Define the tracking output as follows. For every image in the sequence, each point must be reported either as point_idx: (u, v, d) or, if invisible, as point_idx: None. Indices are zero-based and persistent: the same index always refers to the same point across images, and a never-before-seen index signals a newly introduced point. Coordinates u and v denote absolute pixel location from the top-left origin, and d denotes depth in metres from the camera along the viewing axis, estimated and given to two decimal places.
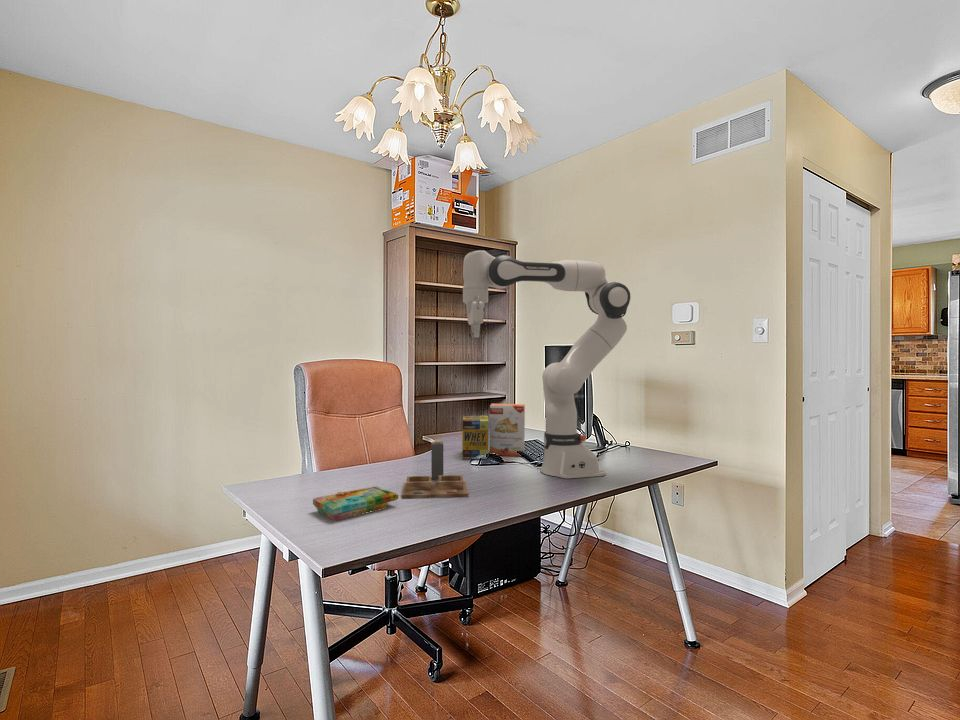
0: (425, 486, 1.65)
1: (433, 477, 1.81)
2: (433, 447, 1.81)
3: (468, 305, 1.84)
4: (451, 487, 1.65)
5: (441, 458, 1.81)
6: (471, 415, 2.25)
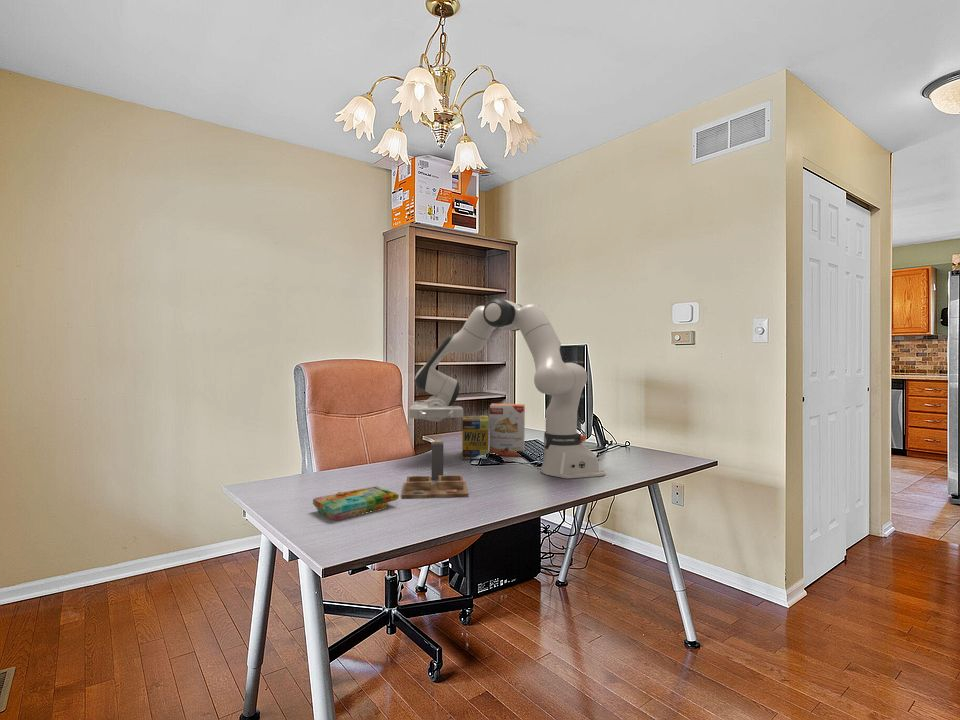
0: (425, 486, 1.65)
1: (433, 477, 1.81)
2: (433, 447, 1.81)
3: (440, 404, 2.05)
4: (451, 487, 1.65)
5: (441, 458, 1.81)
6: (471, 415, 2.25)
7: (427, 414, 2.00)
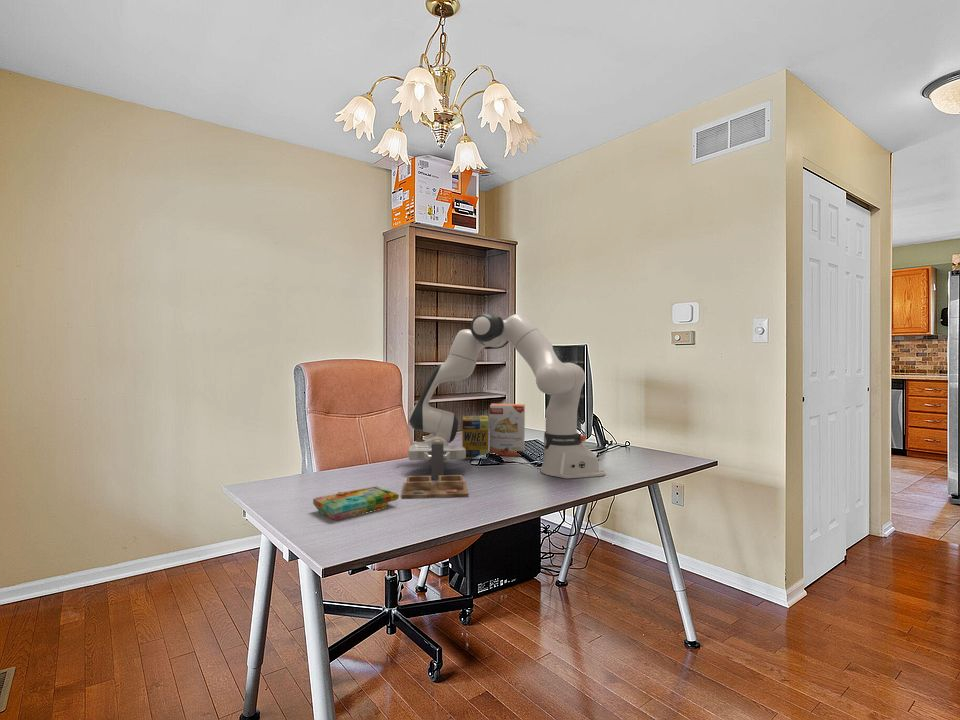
0: (425, 486, 1.65)
1: (433, 477, 1.81)
2: (433, 447, 1.81)
3: None
4: (451, 487, 1.65)
5: (441, 458, 1.81)
6: (471, 415, 2.25)
7: None
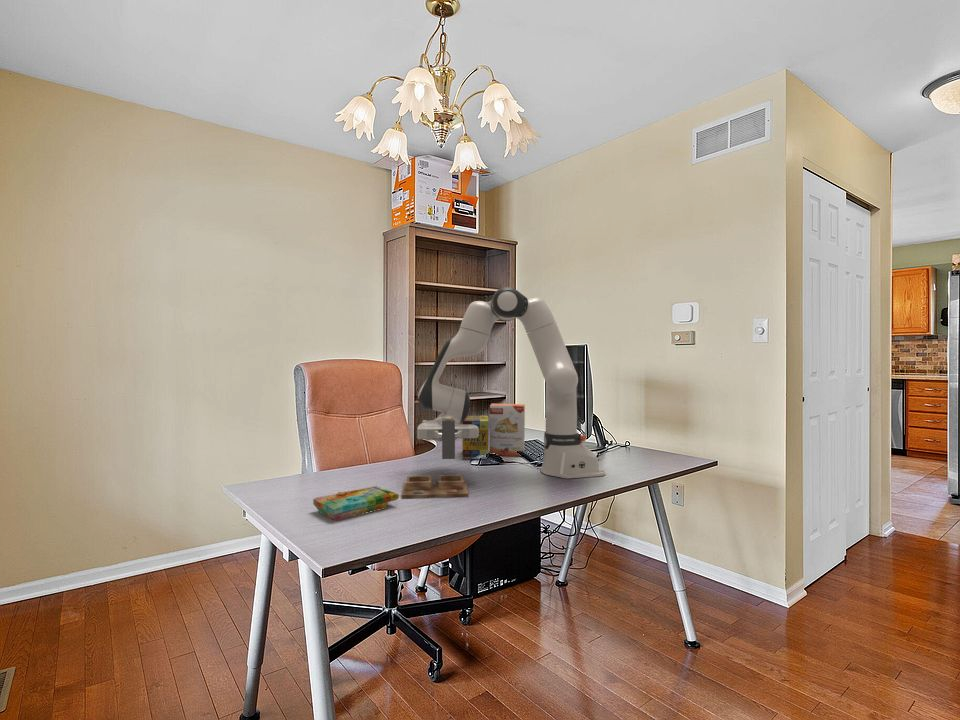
0: (425, 486, 1.65)
1: (444, 456, 1.68)
2: (444, 424, 1.68)
3: None
4: (451, 487, 1.65)
5: (452, 436, 1.68)
6: (471, 415, 2.25)
7: None
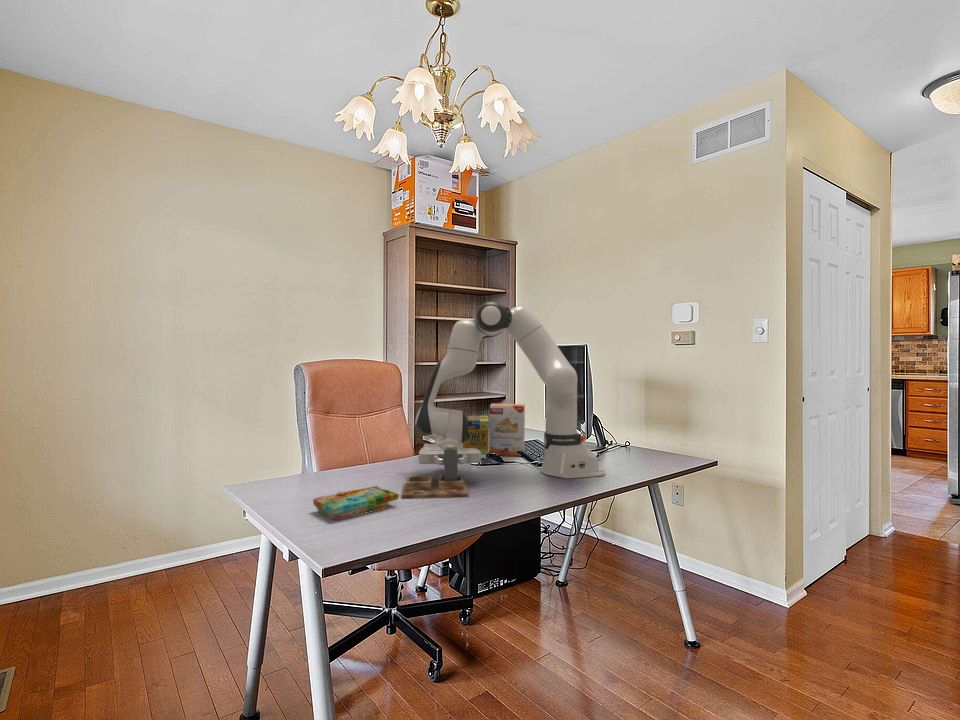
0: (425, 486, 1.65)
1: None
2: (446, 453, 1.67)
3: (454, 446, 1.79)
4: (451, 487, 1.65)
5: (455, 465, 1.67)
6: (471, 415, 2.25)
7: None
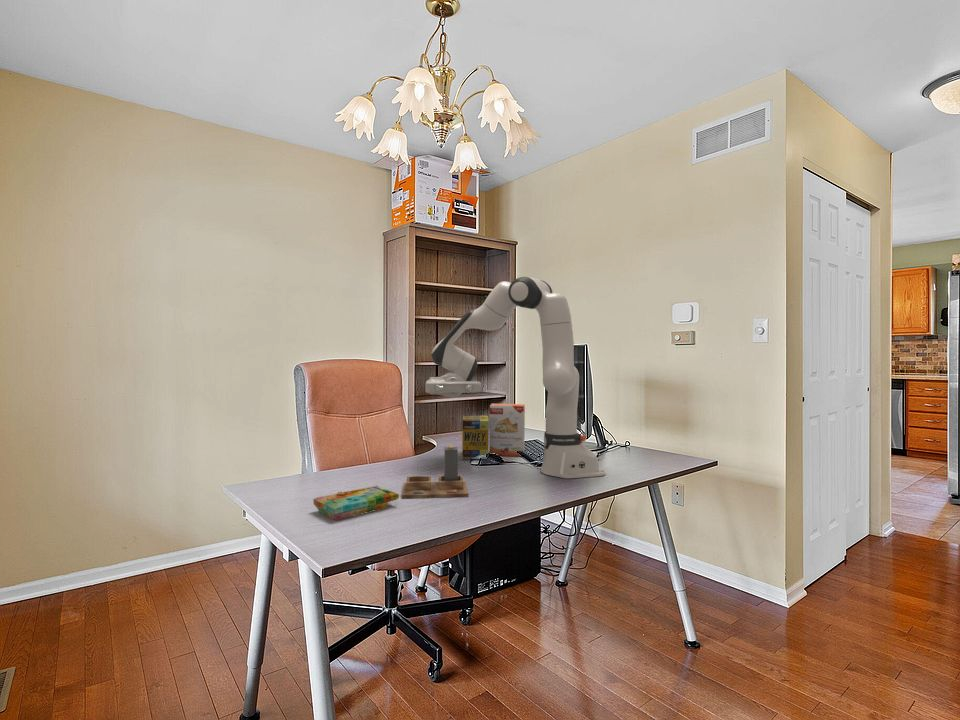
0: (425, 486, 1.65)
1: None
2: (446, 453, 1.67)
3: (457, 379, 1.99)
4: (451, 487, 1.65)
5: (455, 465, 1.67)
6: (471, 415, 2.25)
7: (444, 388, 1.93)
